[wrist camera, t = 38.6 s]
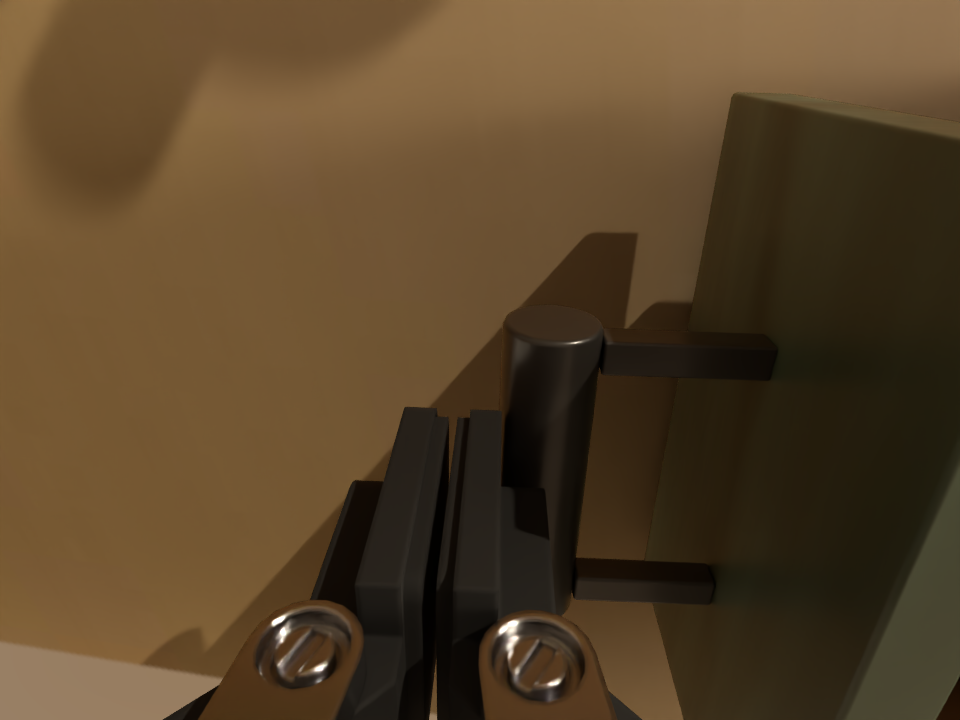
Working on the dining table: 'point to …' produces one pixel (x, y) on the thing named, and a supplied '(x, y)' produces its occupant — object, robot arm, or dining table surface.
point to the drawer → (784, 425)
